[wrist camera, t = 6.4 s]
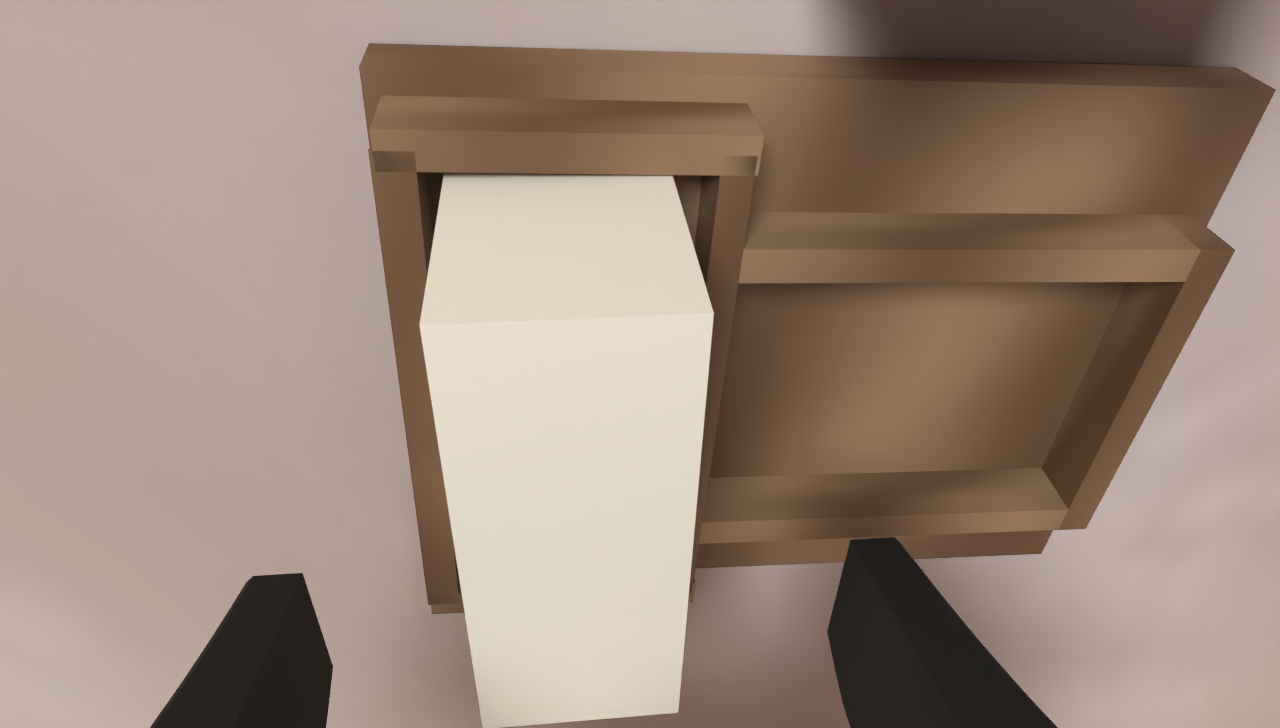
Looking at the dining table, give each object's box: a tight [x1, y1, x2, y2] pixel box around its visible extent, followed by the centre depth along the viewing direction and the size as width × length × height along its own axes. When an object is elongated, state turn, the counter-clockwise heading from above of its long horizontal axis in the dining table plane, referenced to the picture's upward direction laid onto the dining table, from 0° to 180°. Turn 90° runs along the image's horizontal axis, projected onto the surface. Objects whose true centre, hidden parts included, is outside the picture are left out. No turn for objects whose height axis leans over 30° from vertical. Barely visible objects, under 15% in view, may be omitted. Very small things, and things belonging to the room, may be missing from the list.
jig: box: [359, 43, 1275, 614], centre depth 16 cm, size 14×11×2 cm
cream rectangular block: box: [419, 172, 714, 728], centre depth 14 cm, size 3×8×5 cm, turn 179°
